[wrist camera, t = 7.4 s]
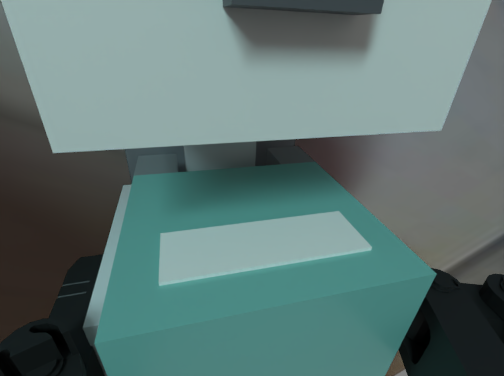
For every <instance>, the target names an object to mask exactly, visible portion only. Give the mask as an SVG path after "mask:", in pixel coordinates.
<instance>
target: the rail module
mask: <svg viewBox="0 0 504 376" xmlns="http://www.w3.org/2000/svg"><path fill="white" fill-rule="evenodd" d="M435 276H436V273H435V272H434V271H433V270H432V269H431V268H430V267H429V266H428V265H427V264H426V263H425V262H423V261H422V260H421V259H420V258H419V257H418V256H417V255H416V254H415V253H414V252H413V251H412V250H410V249H409V248H408V247H407V246H406V245H405V244H404V243H403V242H402V241H401V240H400V239H399V238H397V237H396V236H395V235H394V234H393V233H392V232H391V231H390V230H389V229H388V228H387V227H385V226H384V225H383V224H382V223H381V222H380V221H379V220H378V219H377V218H376V217H375V216H374V215H372V214H371V213H370V212H369V211H368V210H367V209H366V208H365V207H364V206H363V205H362V204H361V203H359V202H358V201H357V200H356V199H355V198H354V197H353V196H352V195H351V194H350V193H349V192H348V191H346V190H345V189H344V188H343V187H342V186H341V185H340V184H339V183H338V182H337V181H336V180H335V179H333V178H332V177H331V176H330V175H329V174H328V173H327V172H326V171H325V170H324V169H323V168H321V167H320V166H319V165H318V164H317V163H316V162H315V161H314V160H313V159H312V158H311V157H310V156H308V155H307V154H306V153H305V152H304V151H303V150H302V149H301V148H300V147H299V146H290V147H274V148H267V162H266V166H253V167H240V168H227V169H214V170H201V171H188V172H178V164H177V154H160V155H144V156H138V160H137V164H136V168H135V172H134V177H133V181H132V185H131V189H130V194H129V198H128V202H127V206H126V211H125V215H124V219H123V223H122V228H121V232H120V236H119V240H118V245H117V249H116V253H115V257H114V262H113V266H112V270H111V274H110V279H109V283H108V287H107V292H106V296H105V300H104V304H103V309H102V313H101V317H100V321H99V326H98V330H97V334H96V338H95V343H94V344H95V347H96V349H97V352H98V354H99V356H100V359H101V361H102V364H103V366H104V369H105V371H106V374H107V376H385V374H386V373H387V371H388V369H389V367H390V365H391V363H392V361H393V359H394V357H395V355H396V353H397V351H398V349H399V347H400V345H401V343H402V341H403V339H404V337H405V335H406V333H407V331H408V329H409V327H410V325H411V323H412V321H413V319H414V317H415V316H416V314H417V312H418V310H419V308H420V306H421V304H422V302H423V300H424V298H425V296H426V294H427V292H428V290H429V288H430V286H431V284H432V282H433V280H434V278H435Z"/></svg>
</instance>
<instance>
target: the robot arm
mask: <svg viewBox="0 0 504 376" xmlns="http://www.w3.org/2000/svg"><path fill="white" fill-rule="evenodd" d="M131 185H132V184H131ZM131 185H123V188H122V191H121V195H120V198H119V202H118V205H117V209H116V212H115V216H114V219H113V223H112V226H111V230H110V234H109V237H108V241H107V244H106V248H105V251H104V254H103V255H96V256H88V257H81V258H79V259H78V260H77V261H76V263H75V264H74V265H73V266H72V267H71V268H70V269H69V270H68V272H67V274H66V277H65V279H64V282H63V287H61V289H60V291H59V294H58V299H56V301H55V304H54V306H53V309H52V311H51V313H50V316H49V318H48V319H41V320H37V321H34V322H30V323H28V324H27V325H25V326H23V327H21V328H19V329H17V330H15V331H14V332H13V333H12V334H10V335H9V336H8V337H7V338H6V339H4V340H3V341H2V342H1V343H0V376H107V374H106V371H105V369H104V366H103V364H102V361H101V359H100V356H99V354H98V352H97V349H96V347H95V344H94V343H95V338H96V334H97V330H98V326H99V321H100V317H101V313H102V309H103V304H104V300H105V296H106V292H107V287H108V283H109V279H110V274H111V270H112V266H113V262H114V257H115V253H116V249H117V245H118V240H119V236H120V232H121V228H122V223H123V219H124V215H125V211H126V206H127V202H128V198H129V194H130V189H131ZM431 269H432V270H433V271H434V272H435V273H436V276H435V278H434V280H433V282H432V284H431V286H430V288H429V290H428V292H427V294H426V296H425V298H424V300H423V302H422V304H421V306H420V308H419V310H418V312H417V314H416V316H415V317H414V319H413V321H412V323H411V325H410V327H409V329H408V331H407V333H406V335H405V337H404V339H403V341H402V343H401V345H400V347H399V352H400V355H401V358H402V360H403V363H404V366H405V369H406V372H407V375H408V376H504V275H503V274H492V275H489V276H488V277H487V279H486V281H485V282H484V284H483V285H477V284H466V283H460V282H459V281H458V280H457V279H455V278H454V277H452V276H451V275H450V274H448V273H445V272H443V271H441V270H438V269H433V268H431Z"/></svg>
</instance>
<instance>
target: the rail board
mask: <svg viewBox="0 0 504 376" xmlns="http://www.w3.org/2000/svg"><path fill="white" fill-rule="evenodd" d="M491 1H492V0H1V2H2V5H3V8H4V11H5V14H6V17H7V19H8V22H9V25H10V28H11V31H12V34H13V37H14V40H15V43H16V46H17V49H18V52H19V55H20V58H21V60H22V63H23V66H24V69H25V72H26V75H27V78H28V81H29V84H30V87H31V90H32V93H33V96H34V99H35V101H36V104H37V107H38V110H39V113H40V116H41V119H42V122H43V125H44V128H45V131H46V134H47V137H48V140H49V142H50V145H51V148H52V151H53V153H64V152H81V151H98V150H115V149H125V153H126V158H127V163H128V167H129V172H130V177H131V182H132V181H133V177H134V172H135V168H136V164H137V160H138V156H144V155H160V154H177V164H178V172H188V171H201V170H214V169H227V168H240V167H253V166H266V162H267V148H274V147H290V146H295V139H304V138H321V137H339V136H356V135H373V134H390V133H407V132H424V131H441V130H442V127H443V125H444V122H445V120H446V117H447V114H448V112H449V109H450V107H451V104H452V102H453V99H454V96H455V94H456V91H457V89H458V86H459V83H460V81H461V78H462V76H463V73H464V71H465V68H466V65H467V63H468V60H469V58H470V55H471V52H472V50H473V47H474V45H475V42H476V40H477V37H478V34H479V32H480V29H481V27H482V24H483V22H484V19H485V16H486V14H487V11H488V9H489V6H490V3H491Z"/></svg>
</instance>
